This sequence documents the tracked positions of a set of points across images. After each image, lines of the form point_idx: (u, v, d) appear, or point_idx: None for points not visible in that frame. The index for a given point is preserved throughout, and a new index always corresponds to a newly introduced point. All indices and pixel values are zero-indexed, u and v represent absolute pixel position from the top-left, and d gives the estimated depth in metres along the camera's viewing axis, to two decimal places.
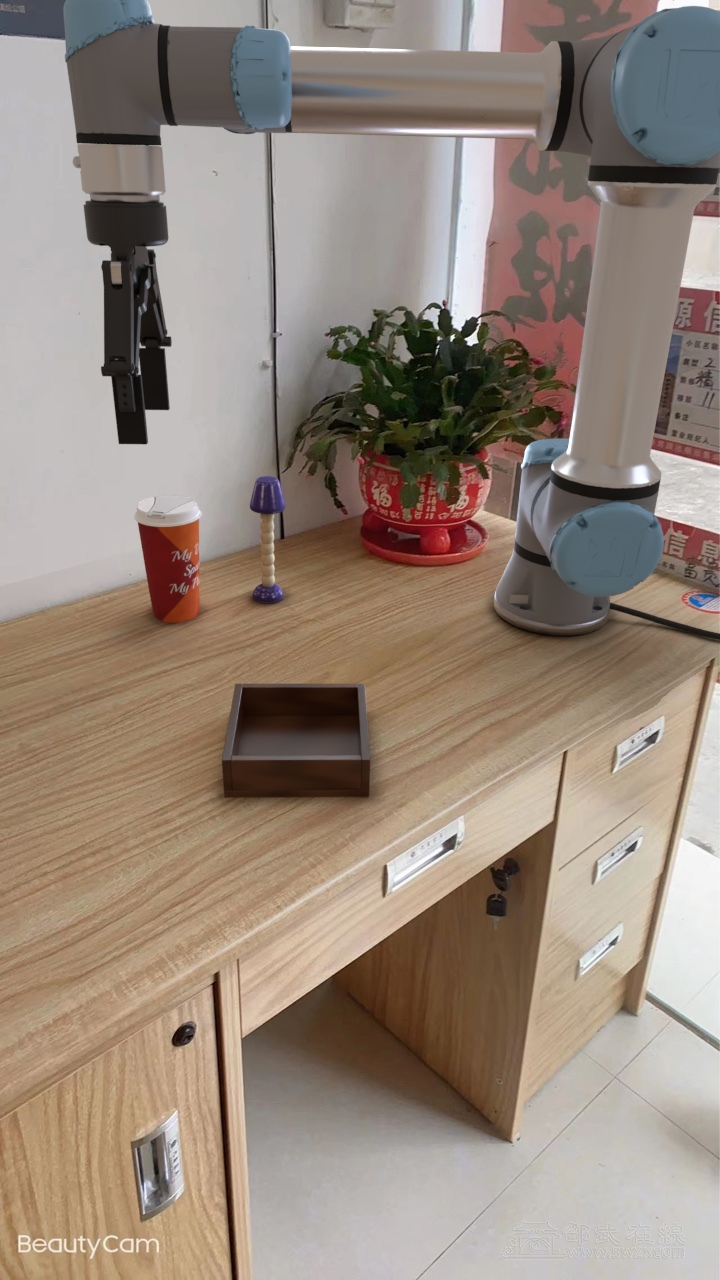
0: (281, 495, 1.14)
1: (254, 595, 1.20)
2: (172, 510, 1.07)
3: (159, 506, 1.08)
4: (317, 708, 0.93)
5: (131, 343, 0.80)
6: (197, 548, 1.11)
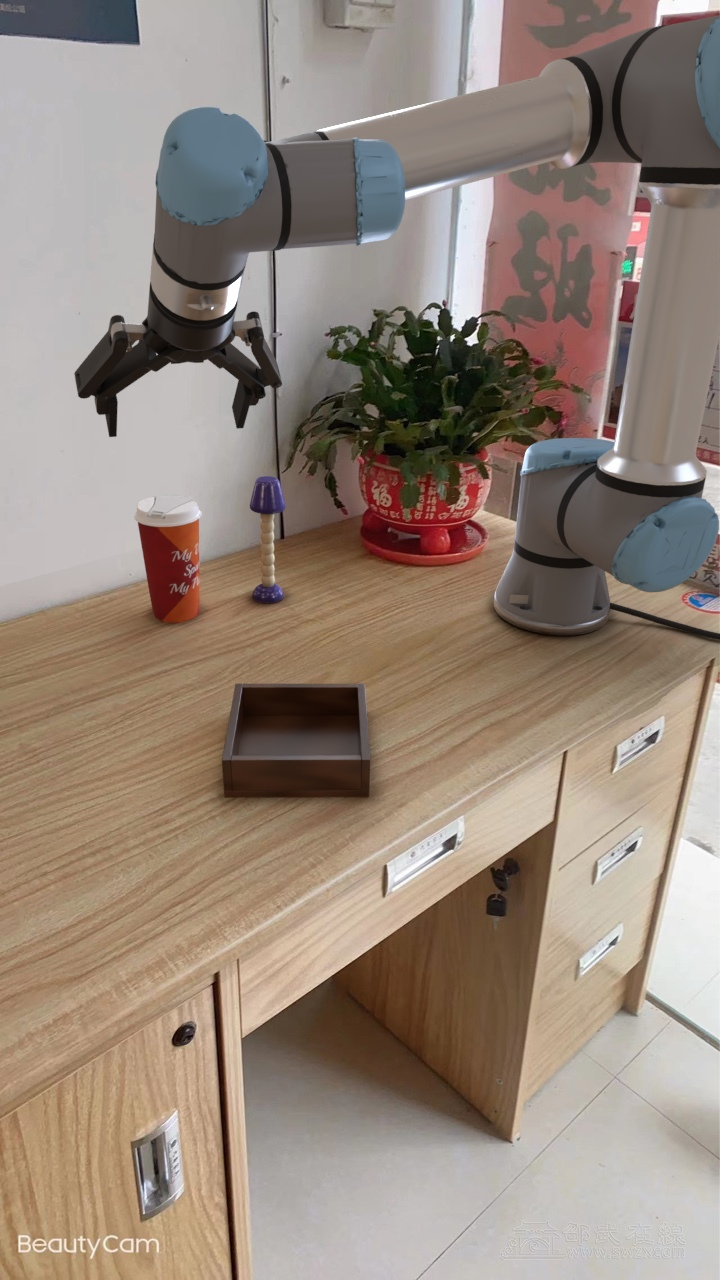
0: (281, 495, 1.14)
1: (254, 595, 1.20)
2: (172, 510, 1.07)
3: (159, 506, 1.08)
4: (317, 708, 0.93)
5: None
6: (197, 548, 1.11)
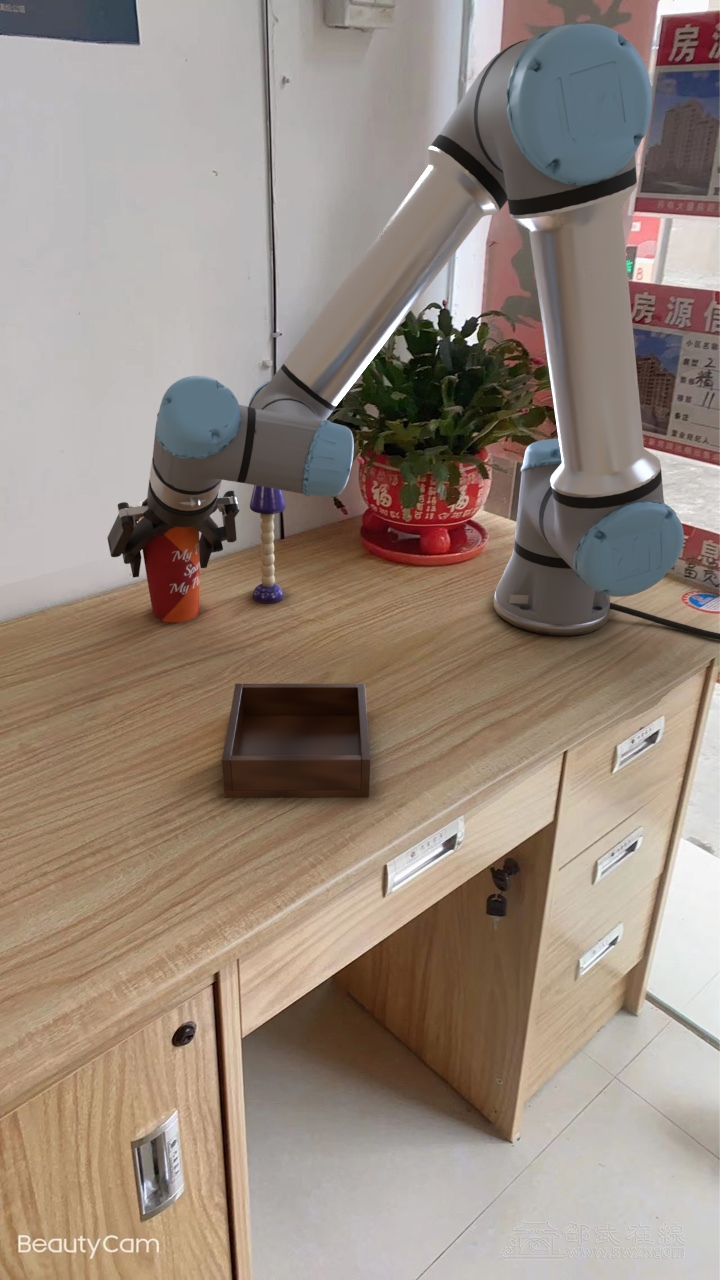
0: (281, 495, 1.14)
1: (254, 595, 1.20)
2: None
3: None
4: (317, 708, 0.93)
5: None
6: (197, 548, 1.11)
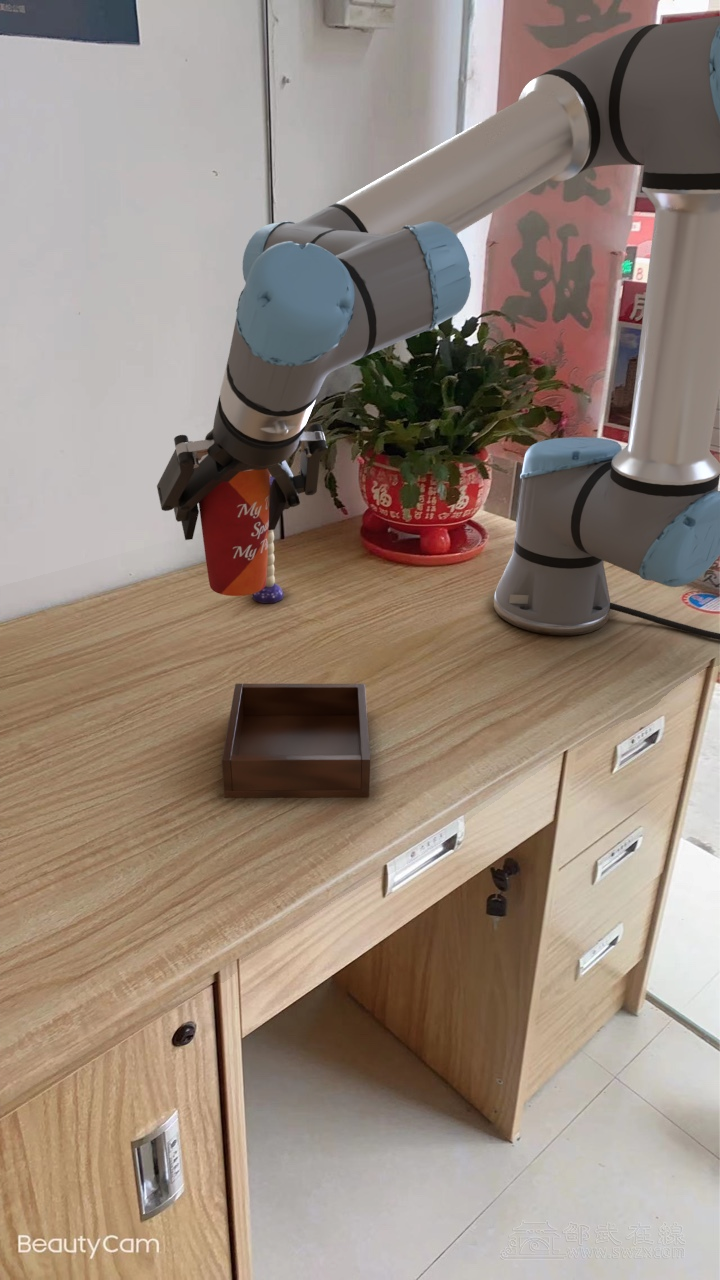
0: None
1: (254, 595, 1.20)
2: None
3: None
4: (317, 708, 0.93)
5: None
6: (267, 502, 0.89)
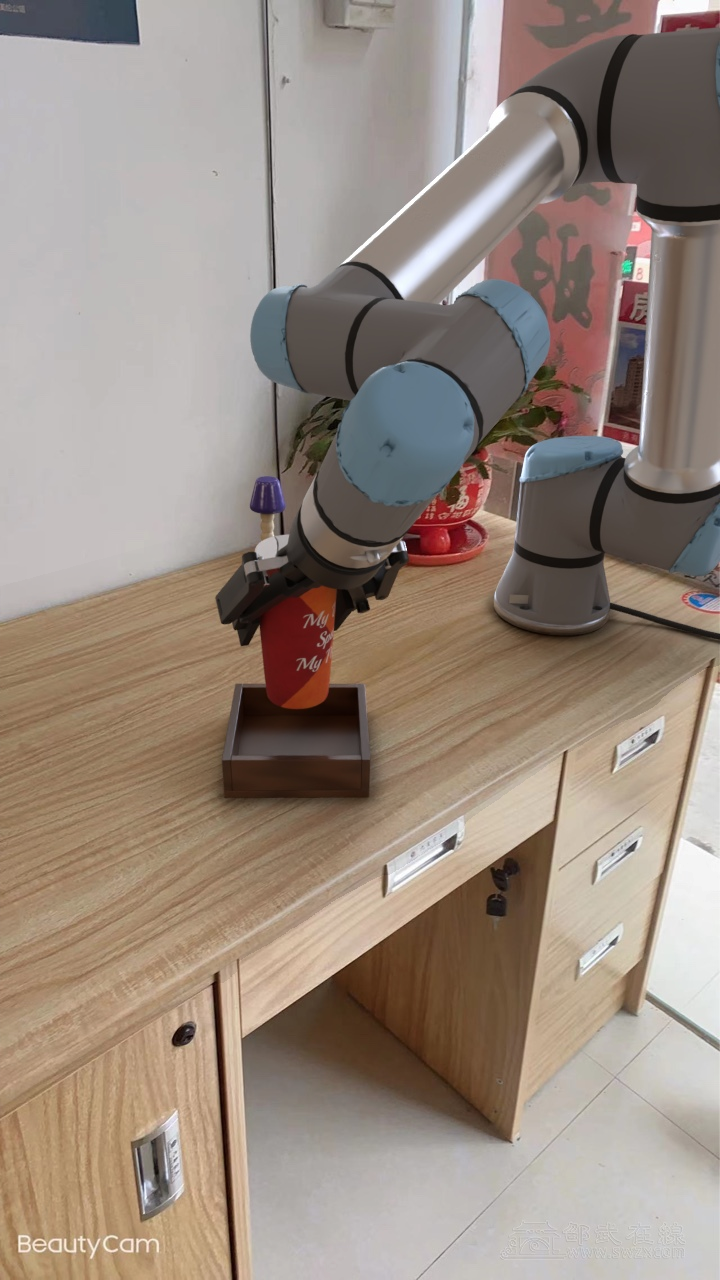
0: (281, 495, 1.14)
1: None
2: None
3: None
4: (317, 708, 0.93)
5: None
6: (334, 608, 0.80)
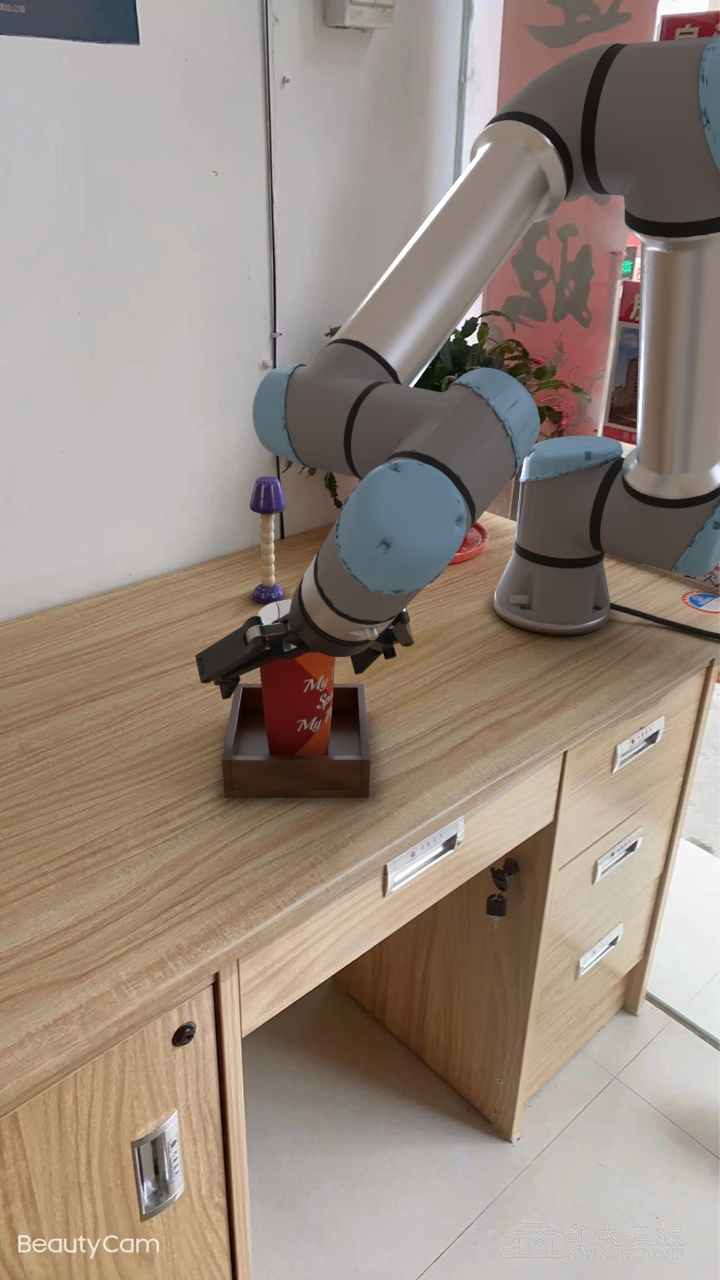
0: (281, 495, 1.14)
1: (254, 595, 1.20)
2: None
3: None
4: None
5: None
6: (333, 671, 0.83)
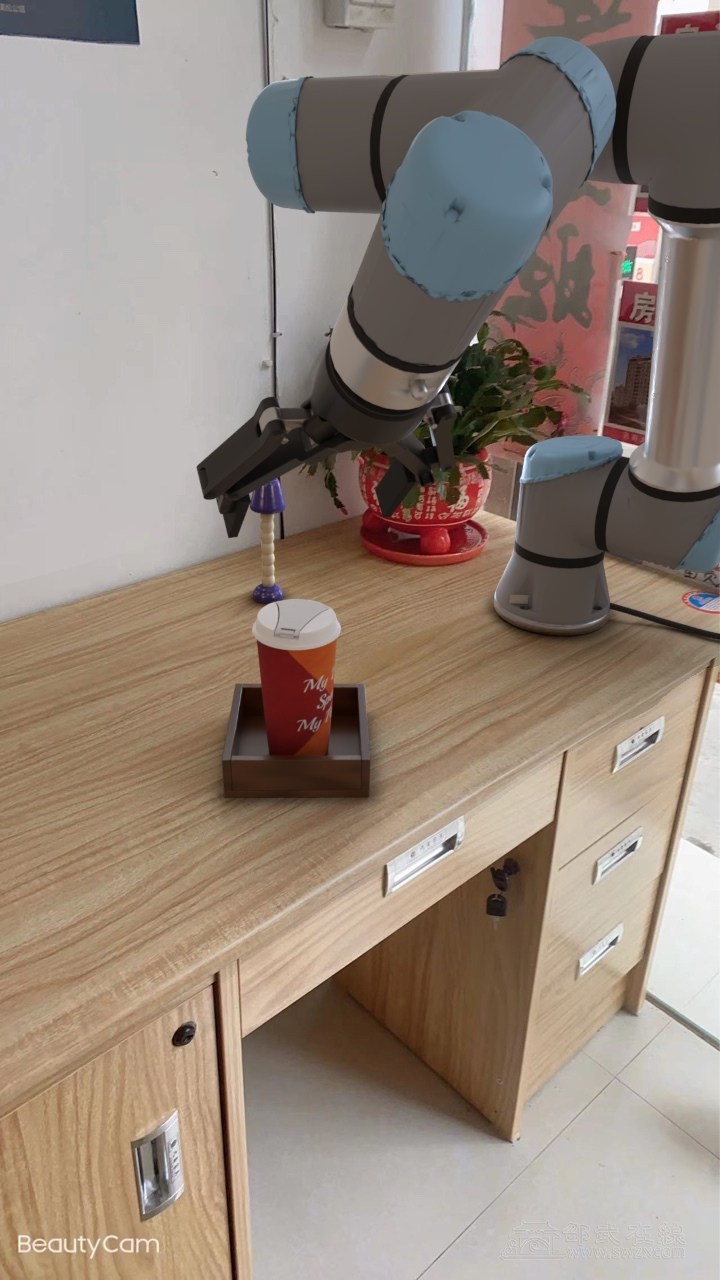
0: (281, 495, 1.14)
1: (254, 595, 1.20)
2: (306, 626, 0.79)
3: (287, 619, 0.80)
4: None
5: None
6: (333, 671, 0.83)
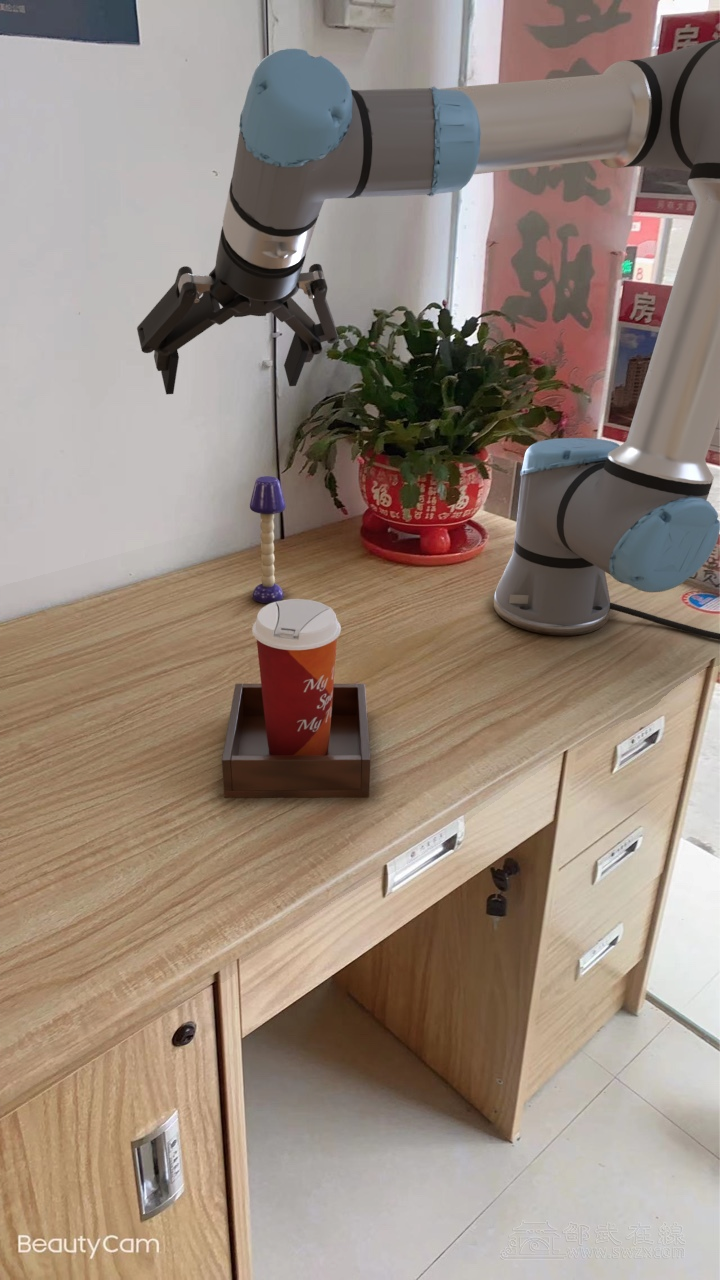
0: (281, 495, 1.14)
1: (254, 595, 1.20)
2: (306, 626, 0.79)
3: (287, 619, 0.80)
4: None
5: None
6: (333, 671, 0.83)
